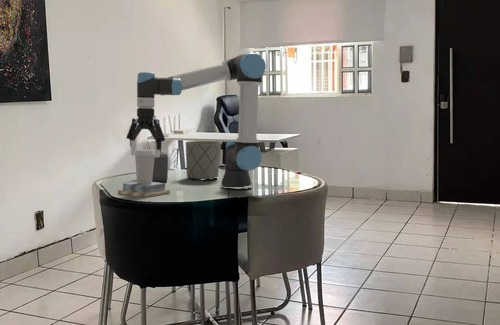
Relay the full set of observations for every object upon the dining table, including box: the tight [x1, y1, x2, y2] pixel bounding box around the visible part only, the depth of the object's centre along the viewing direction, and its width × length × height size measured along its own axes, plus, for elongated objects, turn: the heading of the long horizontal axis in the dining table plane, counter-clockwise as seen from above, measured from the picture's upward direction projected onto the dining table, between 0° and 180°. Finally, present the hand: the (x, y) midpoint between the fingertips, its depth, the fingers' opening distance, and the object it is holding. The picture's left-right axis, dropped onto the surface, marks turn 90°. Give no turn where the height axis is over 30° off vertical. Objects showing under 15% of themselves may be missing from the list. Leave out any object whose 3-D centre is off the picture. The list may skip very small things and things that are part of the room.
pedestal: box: [117, 181, 170, 199], centre depth 253 cm, size 16×16×4 cm
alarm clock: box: [152, 151, 169, 183], centre depth 295 cm, size 16×11×16 cm
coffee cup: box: [133, 148, 155, 184], centre depth 252 cm, size 10×10×15 cm
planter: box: [185, 140, 222, 180], centre depth 308 cm, size 19×19×20 cm
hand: (145, 156), depth 251 cm, fingers open, 13 cm apart
